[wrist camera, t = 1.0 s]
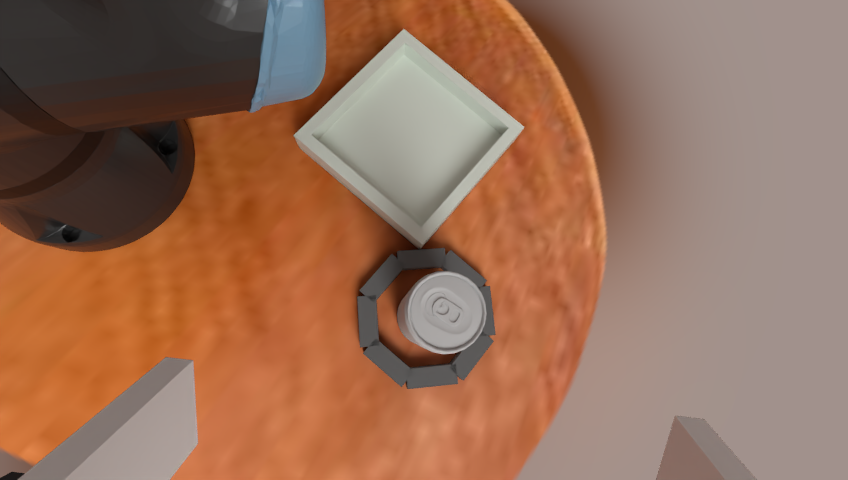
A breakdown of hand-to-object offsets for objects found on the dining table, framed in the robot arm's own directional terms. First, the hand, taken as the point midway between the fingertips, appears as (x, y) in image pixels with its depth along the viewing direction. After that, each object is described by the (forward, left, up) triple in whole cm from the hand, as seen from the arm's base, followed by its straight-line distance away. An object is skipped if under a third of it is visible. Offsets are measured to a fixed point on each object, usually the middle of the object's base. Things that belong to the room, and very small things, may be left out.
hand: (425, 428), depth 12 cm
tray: (-11, +15, -24) cm, 30 cm away
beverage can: (0, +4, -24) cm, 24 cm away
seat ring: (0, +4, -24) cm, 24 cm away
